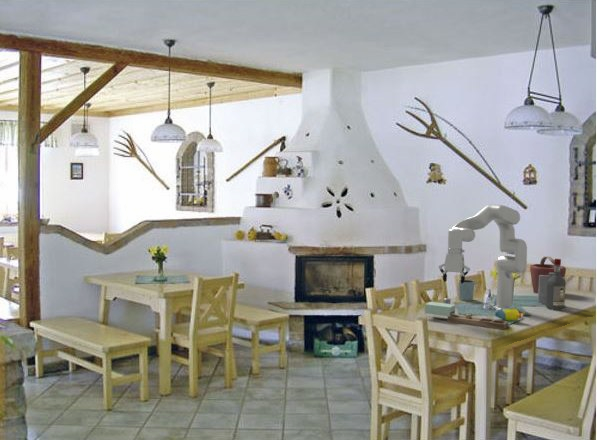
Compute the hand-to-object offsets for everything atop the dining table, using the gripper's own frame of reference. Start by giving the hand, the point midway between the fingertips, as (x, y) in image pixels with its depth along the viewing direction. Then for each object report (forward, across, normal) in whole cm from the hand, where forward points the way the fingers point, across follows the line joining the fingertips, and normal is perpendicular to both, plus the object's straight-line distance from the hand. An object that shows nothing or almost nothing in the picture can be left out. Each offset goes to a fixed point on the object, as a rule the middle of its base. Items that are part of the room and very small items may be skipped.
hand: (453, 282), depth 375 cm
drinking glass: (+20, +10, -60) cm, 64 cm away
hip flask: (+21, -39, -75) cm, 87 cm away
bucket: (+21, -29, -118) cm, 123 cm away
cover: (+17, +5, +6) cm, 19 cm away
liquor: (+21, -44, -63) cm, 80 cm away
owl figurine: (+21, -28, -10) cm, 37 cm away
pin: (+20, +7, -11) cm, 23 cm away
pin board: (+20, -16, +7) cm, 26 cm away
